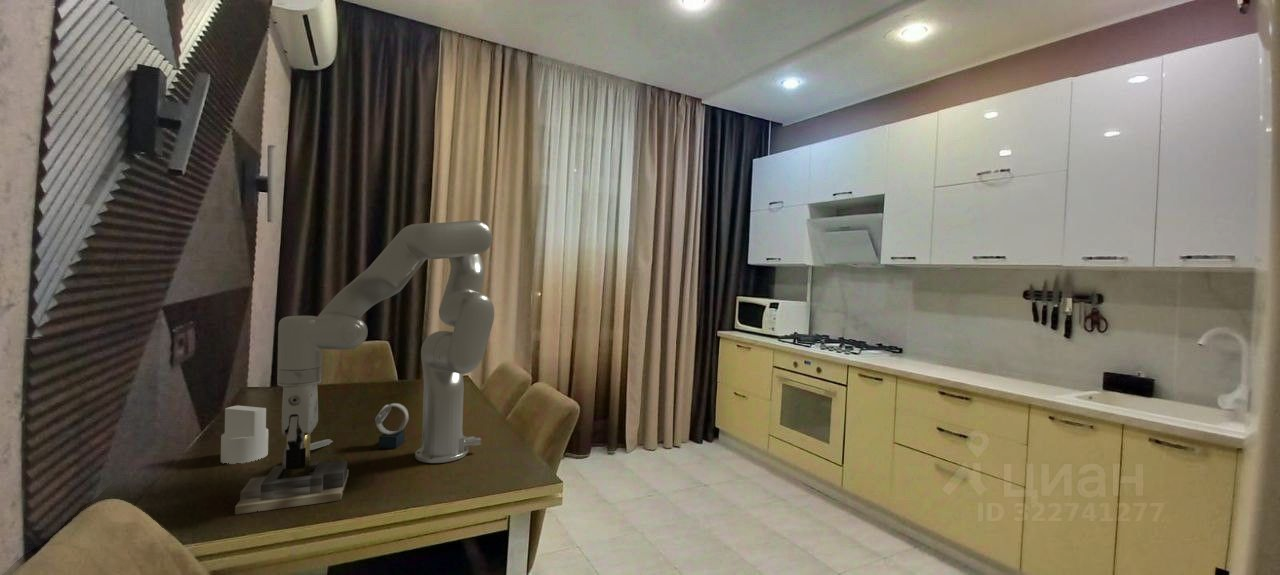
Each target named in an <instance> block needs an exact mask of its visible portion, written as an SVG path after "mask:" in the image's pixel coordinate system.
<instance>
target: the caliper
mask: <svg viewBox="0 0 1280 575" xmlns="http://www.w3.org/2000/svg"><path fill="white" fill-rule="evenodd" d="M333 442H334V441H333V440H331V438H329V439H328V438H326V439H323V440H318V441H315V442H312V443H311V442H310V452H311V451H314V450H317V449H320V448H324V447H326V446H327V445H328V446H329V445H330V444H331V443H333ZM328 446H327V447H328ZM286 450H287V444H286V446H285V448H284V450H283V455H282V465H286Z"/></svg>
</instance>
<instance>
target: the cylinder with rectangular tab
mask: <svg viewBox="0 0 1280 575" xmlns="http://www.w3.org/2000/svg"><path fill="white" fill-rule="evenodd" d="M268 454H269V429H268V428H267V408H266V407H256V406H247V405H233V406H229V407H225V408H224V433H222V434H221V435H220V463H222V464H224V463H227V464H226V465H237V464H236V463H241V464H245V463H246V462H247V463H251V461H252V462H255V460H256V461H258V459H259V460H262V459H264V458H266V457H267V456H268ZM261 458H262V459H261ZM228 463H229V464H228ZM247 463H246V464H247Z"/></svg>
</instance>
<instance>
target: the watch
mask: <svg viewBox="0 0 1280 575" xmlns="http://www.w3.org/2000/svg"><path fill="white" fill-rule="evenodd" d="M392 407H394V408H397V409H399V410H400V411H401V412H402V413H403V420H402V422H401V424H400V426H399V427H398V429H397V430H396V429H395V430H394V429H391V430H390V429H389V430H388V429H387V428H385V427H384V425H383V422H384V420H385V419H386V418H387V417H388V416H389V414H390V413H391V410H392ZM409 416H410V415H409V411H408V409H407V408H406V407H405V406H404V405H403V404H401V403H398V402H397V403H396V402H393V403H390V404H385V405H384V406H382V407H381V409H380V411H379V412H378V413H377V415H376V417H375V419H374V421H375V425H376V428H377V430H378V431H379V432H380V433H382V434H380V435H379V437H378V449H379V448H395V449H394V450H396V449H397V448H398V446H399V447H400V446H401V445H402V444H403V443H405V432H406V431H405V430H404V429H405V427H406V425H407V424H408V422H409V419H410V417H409Z"/></svg>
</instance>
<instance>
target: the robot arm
mask: <svg viewBox="0 0 1280 575" xmlns="http://www.w3.org/2000/svg"><path fill="white" fill-rule="evenodd" d="M492 244H493V233H492V230H491V228H490V227H489V226H488V224H486V223H485V222H483V221H481V220H476V219H475V220H473V219H471V220H462V221H461V220H460V221H450V222H448V221H447V222H445V221H444V222H425V223H424V222H423V223H413V224H412V223H411V224H409V225H407V226H405V227H403V228H402V229H401V230H400V231H399V232H398V233H397V234H396V235H395V236H394V238H393V239H392V240H391V241H390V242H389V243H388V244H387V246H386V247H385V248H384V249H383V250H382V251H381V253H380V254H379V255H378V256H377V257H376V258H375V260H374V261H373V262H372V263H371V264H370V266H368V267H367V268H366V269H365V270H364V271H363V272H362V273H360V274H358V276H356V277H355V278H354V279H353V280H352V281H351V282H350V283H348V284H347V285H346V286H345V287H343V288H342V289H341V290H340V291H339V292H338V293H337V294H335V296H333V297H332V299H331V300H330V301H329V303H327V305H326V306H325V307H324V308H323V309H322V310H321V312H319V314H318V315H317V316H316V315H290V316H285V317H283V318H281V319H280V320H279V322H278V327H277V329H278V330H277V333H278V334H277V338H278V339H277V378H276V379H277V382H276V383H277V384H276V385H277V386H279V387H283V388H282V396H281V397H282V400H281V401H282V403H281V434H282V435H283V436H285V437H286V445H287V450H286V469H287V470H292V469H301V468H304V467H305V461H306V448H304V438H305V433H307V434H310V435H311V433H313V431H314V430H315V429H316V426H317V425H318V423H319V402H318V401H319V399H318V398H319V395H318V391H319V390H318V384H320V383H322V379H323V378H322V376H323V374H322V373H323V350H335V351H336V350H339V351H347V350H348V351H349V350H353V349H355V348H357V347H359V346H361V345H362V344H363V343H365V341H366V339H367V338H368V326H367V324H366V323H365V322H364V320H362V319H361V318H362V316H363V315H364V314H365V313H366V312H367V311H368V310H370V309H371V308H372V307H374V306H375V305H377V304H378V303H380V302H381V301H382V302H383V301H384V300H386V299H389V298H391V297H393V296H395V295H397V294H398V293H399V292H401V291H402V290H403V289H404V288H405V286H406V285H407V284H408V283H409V281H410V280H411V279H412V278H413V276H414V275H415V274H416V272H417V271H418V270H419V269H420V268H421V266H422V265H423V264H424V263H425V262H426V261H427V260H440V259H448V261H449V266H450V271H449V275H448V279H447V283H446V285H445V289H444V292H443V295H442V299H441V302H440V304H439V309H438V316H439V318H440V320H441V322H442V323H443V324H445V325H446V326H449V327H452V328H453V330H452V331H450V330H449V331H448V330H440V331H439V330H438V331H434V332H433V333H431V334H429V335H428V336H427V337H426V338H425V340H424V341H423V343H422V345H421V350H420V358H421V364H422V372H423V394H422V396H423V398H422V402H423V403H422V433H421V435H422V436H421V447H419V448H418V449H416V450H415V452H414V458H415V459H416V460H417V461H419V462H421V463H427V464H442V463H443V464H444V463H449V462H455V461H457V460H460V459H462V458H464V457H466V455H468V453H469V446H470V447H471V446H481V445H482V438H481V437H476V436H475V435H473V436H471V435H470V436H465V435H464V431H463V419H464V418H463V417H464V413H463V412H464V390H465V387H464V386H465V385H464V382H465V381H464V374H465V375H466V374H469V373H471V372H473V371H475V369H477V368H478V367H479V365H480V364H481V362H482V359H483V358H484V354H485V351H486V348H487V345H488V341H489V338H490V335H491V331H492V327H493V324H494V320H495V308H494V304H493V302H492V300H491V298H490V297H489V296H488V295H486V294H484V293H482V287H483V282H484V278H485V266H484V262H483V260H482V257H481V254H483V253H485V252H487V251H488V250H489V249H490V247H491V245H492ZM299 430H302V433H297V431H299ZM297 437H300V439H299V438H298V439H297Z"/></svg>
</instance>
